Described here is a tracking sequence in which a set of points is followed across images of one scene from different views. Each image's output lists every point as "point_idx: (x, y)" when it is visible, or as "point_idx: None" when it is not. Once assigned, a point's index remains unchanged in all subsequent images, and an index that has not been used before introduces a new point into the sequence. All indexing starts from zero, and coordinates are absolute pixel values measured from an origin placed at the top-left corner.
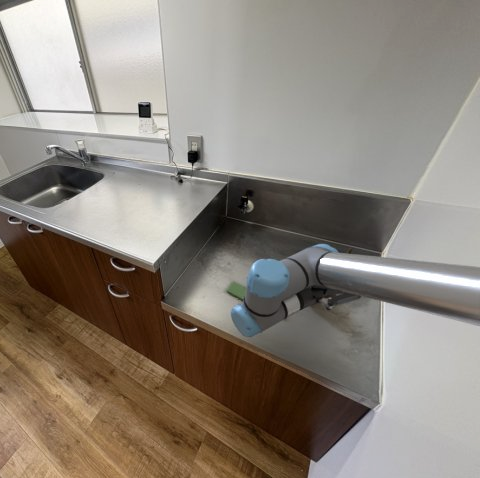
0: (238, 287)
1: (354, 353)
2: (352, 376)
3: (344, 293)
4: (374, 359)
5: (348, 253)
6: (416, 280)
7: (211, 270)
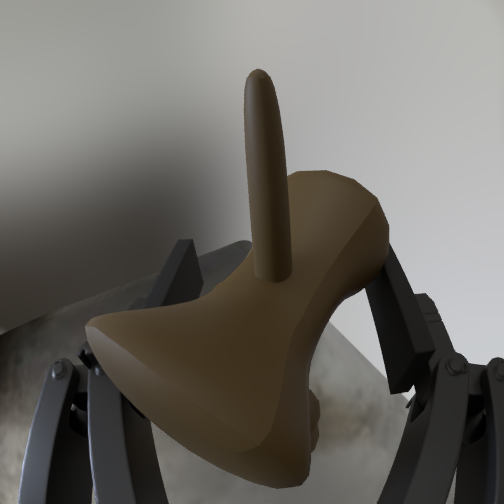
0: None
1: None
2: None
3: (495, 494)
4: None
5: (269, 150)
6: None
7: (5, 497)
